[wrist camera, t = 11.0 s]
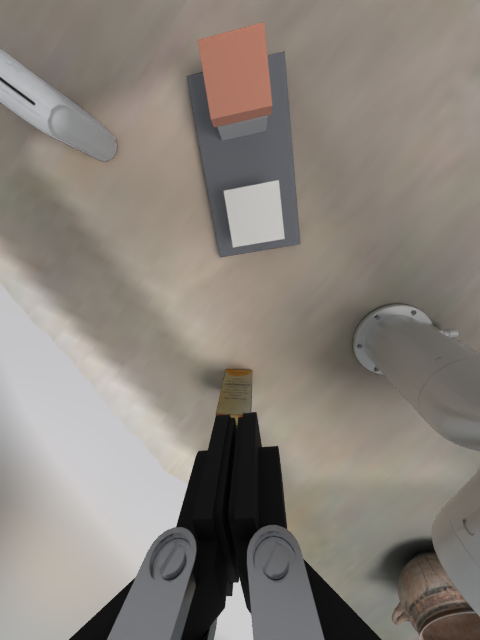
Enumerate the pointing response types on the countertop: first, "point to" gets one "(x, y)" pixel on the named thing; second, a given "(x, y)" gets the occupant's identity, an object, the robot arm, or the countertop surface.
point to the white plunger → (255, 213)
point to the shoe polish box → (235, 393)
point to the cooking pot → (433, 602)
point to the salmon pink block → (236, 75)
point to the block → (248, 157)
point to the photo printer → (52, 111)
